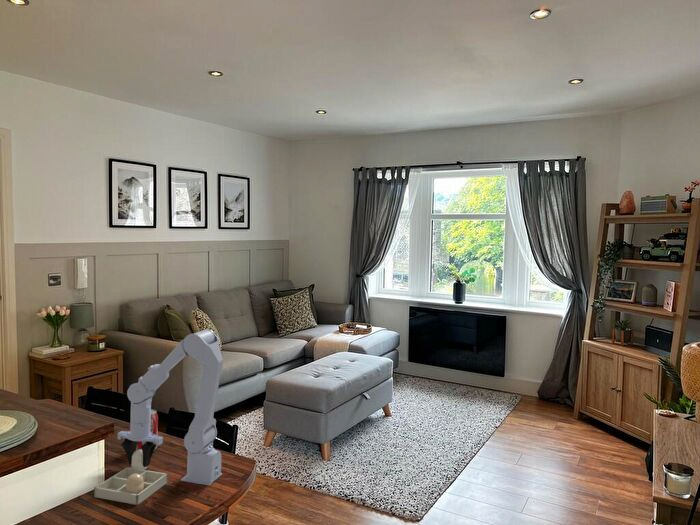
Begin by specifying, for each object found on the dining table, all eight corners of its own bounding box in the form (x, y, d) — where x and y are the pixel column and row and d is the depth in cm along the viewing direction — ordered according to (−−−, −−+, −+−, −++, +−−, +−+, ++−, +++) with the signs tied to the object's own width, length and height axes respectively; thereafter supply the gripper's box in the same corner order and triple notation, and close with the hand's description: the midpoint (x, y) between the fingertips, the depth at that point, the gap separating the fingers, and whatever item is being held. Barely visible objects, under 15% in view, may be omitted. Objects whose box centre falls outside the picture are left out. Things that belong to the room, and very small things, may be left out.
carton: (167, 483, 148) (167, 473, 148) (137, 506, 135) (137, 495, 135) (127, 476, 151) (127, 467, 151) (94, 498, 138) (94, 487, 138)
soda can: (141, 456, 165) (142, 417, 165) (129, 450, 170) (131, 412, 169) (161, 450, 171) (162, 412, 171) (149, 444, 175) (150, 407, 175)
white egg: (149, 467, 158) (150, 448, 158) (140, 473, 153) (141, 453, 153) (137, 465, 159) (138, 446, 159) (128, 471, 155) (128, 451, 154)
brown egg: (146, 494, 141) (147, 471, 140) (136, 501, 136) (137, 478, 136) (132, 491, 142) (133, 469, 141) (122, 499, 137) (122, 476, 137)
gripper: (169, 419, 158) (167, 462, 158) (128, 413, 161) (127, 456, 162) (155, 427, 151) (153, 472, 151) (113, 421, 154) (112, 465, 155)
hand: (139, 464), depth 156 cm, fingers open, 4 cm apart
